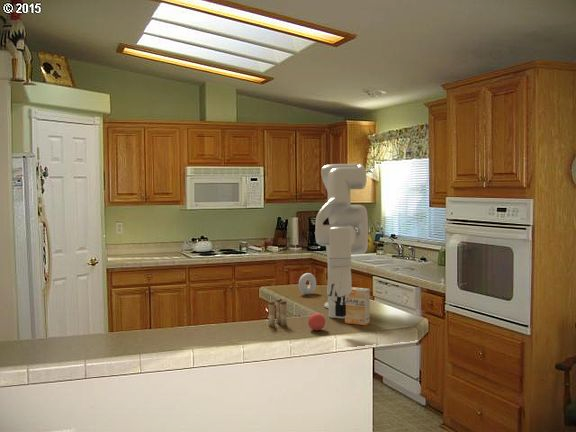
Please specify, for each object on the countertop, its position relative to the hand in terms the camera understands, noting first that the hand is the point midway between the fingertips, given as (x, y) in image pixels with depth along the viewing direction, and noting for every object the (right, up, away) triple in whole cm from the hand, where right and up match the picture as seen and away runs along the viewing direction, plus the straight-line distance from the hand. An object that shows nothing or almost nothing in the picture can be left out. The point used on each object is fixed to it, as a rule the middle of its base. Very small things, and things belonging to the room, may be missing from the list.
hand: (340, 315), depth 204 cm
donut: (-9, -2, +71) cm, 72 cm away
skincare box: (+1, -5, +25) cm, 26 cm away
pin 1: (-24, -6, +13) cm, 28 cm away
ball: (-8, -3, +6) cm, 10 cm away
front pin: (-20, -6, +14) cm, 25 cm away
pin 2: (-21, -6, +18) cm, 28 cm away
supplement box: (+8, -6, +15) cm, 18 cm away
